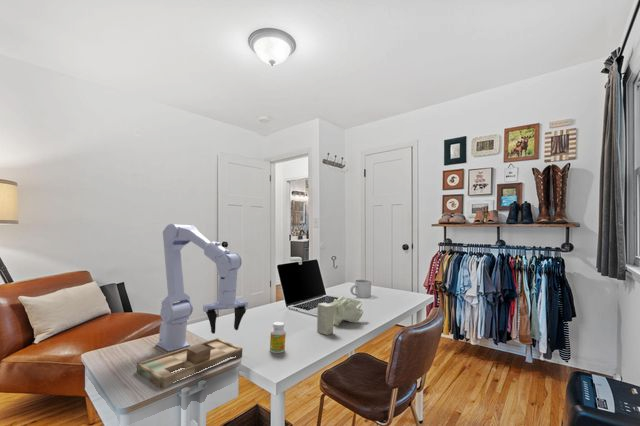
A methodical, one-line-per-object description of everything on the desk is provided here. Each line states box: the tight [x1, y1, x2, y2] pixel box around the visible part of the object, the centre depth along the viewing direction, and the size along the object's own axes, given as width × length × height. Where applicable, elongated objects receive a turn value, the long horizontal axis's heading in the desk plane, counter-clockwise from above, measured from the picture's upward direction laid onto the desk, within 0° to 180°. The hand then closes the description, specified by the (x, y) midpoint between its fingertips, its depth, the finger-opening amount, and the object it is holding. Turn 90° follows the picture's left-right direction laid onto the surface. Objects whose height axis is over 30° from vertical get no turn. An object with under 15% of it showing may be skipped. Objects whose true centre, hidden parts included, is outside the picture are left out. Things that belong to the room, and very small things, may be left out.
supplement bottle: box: [269, 321, 287, 354], centre depth 111 cm, size 5×5×10 cm
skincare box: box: [316, 302, 334, 336], centre depth 133 cm, size 6×4×12 cm
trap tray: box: [135, 337, 244, 389], centre depth 97 cm, size 14×28×3 cm, turn 145°
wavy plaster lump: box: [331, 295, 364, 327], centre depth 148 cm, size 18×13×16 cm
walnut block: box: [186, 343, 211, 365], centre depth 96 cm, size 5×5×4 cm
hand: (224, 330), depth 101 cm, fingers open, 7 cm apart
